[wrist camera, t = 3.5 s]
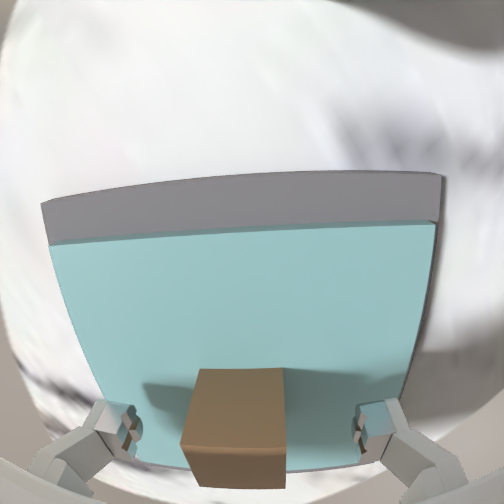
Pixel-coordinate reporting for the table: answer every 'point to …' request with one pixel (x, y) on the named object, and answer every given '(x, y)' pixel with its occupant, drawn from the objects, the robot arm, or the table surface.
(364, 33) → the table surface
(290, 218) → the mat
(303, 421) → the cover sheet
